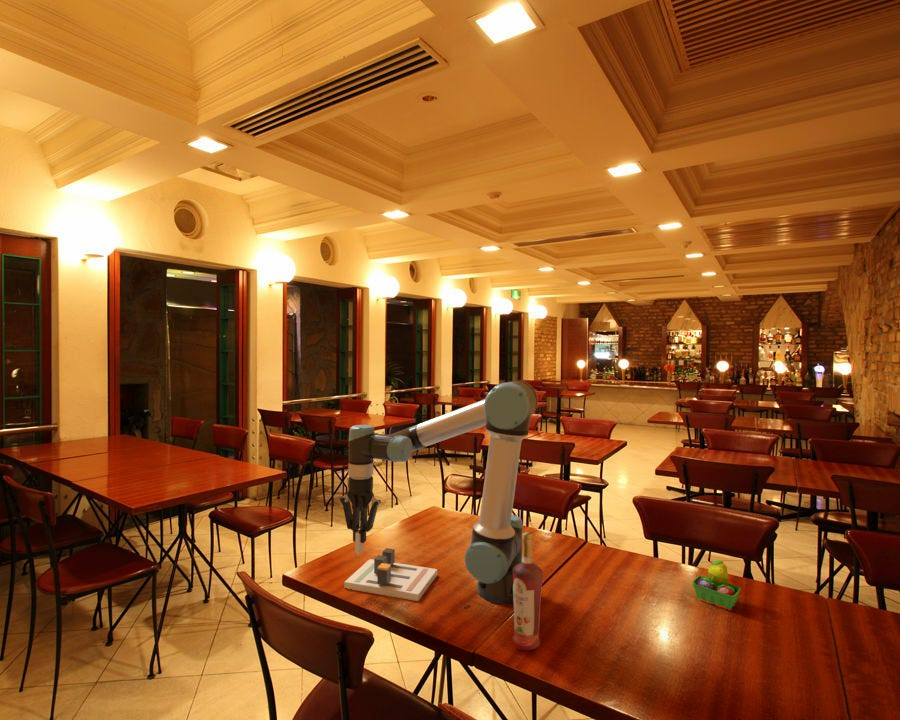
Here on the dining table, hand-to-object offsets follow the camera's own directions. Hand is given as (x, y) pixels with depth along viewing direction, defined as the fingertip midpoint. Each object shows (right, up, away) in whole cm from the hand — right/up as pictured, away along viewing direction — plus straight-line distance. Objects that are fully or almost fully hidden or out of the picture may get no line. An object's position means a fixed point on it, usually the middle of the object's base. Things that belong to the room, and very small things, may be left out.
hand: (359, 552), depth 151 cm
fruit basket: (+106, -12, -6) cm, 107 cm away
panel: (+10, -11, +4) cm, 15 cm away
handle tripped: (+8, -8, -2) cm, 12 cm away
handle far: (+8, -8, +10) cm, 15 cm away
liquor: (+47, -12, -29) cm, 56 cm away
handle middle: (+6, -8, +5) cm, 11 cm away
